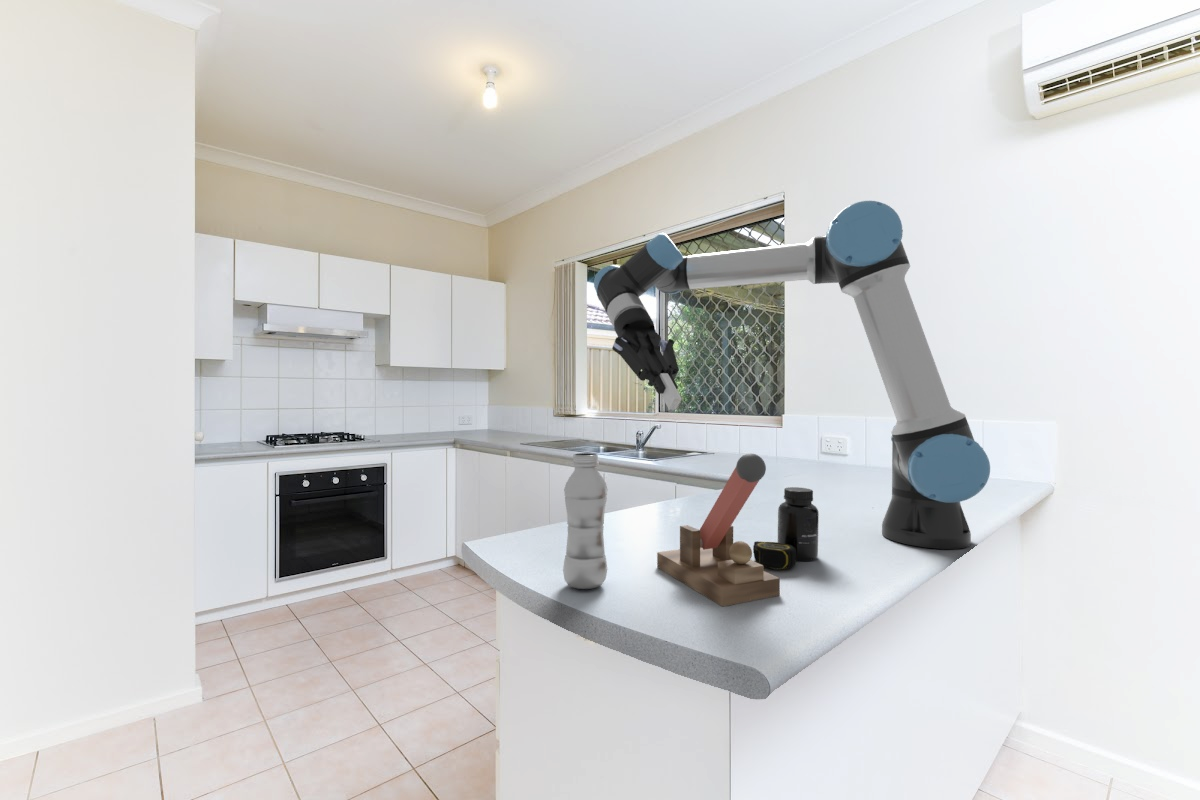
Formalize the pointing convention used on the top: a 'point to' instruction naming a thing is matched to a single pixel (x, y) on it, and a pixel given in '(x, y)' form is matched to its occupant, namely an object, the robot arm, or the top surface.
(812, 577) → the top surface
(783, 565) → the tape measure
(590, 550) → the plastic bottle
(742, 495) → the lever
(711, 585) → the cracker base
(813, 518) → the supplement bottle
